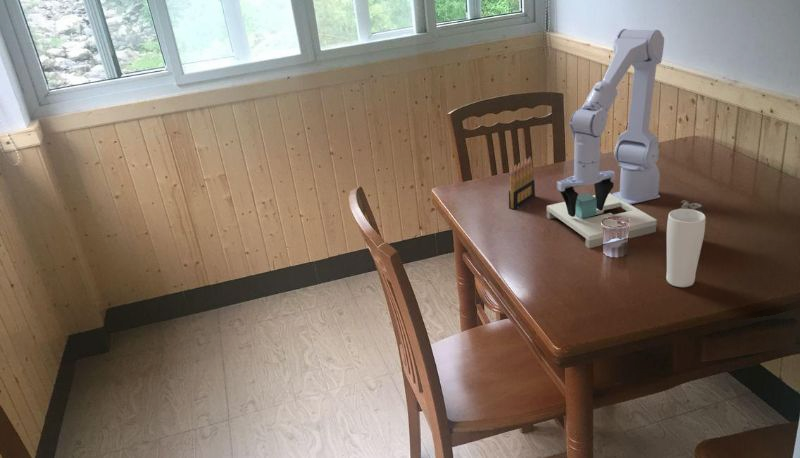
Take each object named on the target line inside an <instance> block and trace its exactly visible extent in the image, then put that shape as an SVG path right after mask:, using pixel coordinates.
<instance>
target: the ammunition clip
mask: <svg viewBox="0 0 800 458" xmlns="http://www.w3.org/2000/svg"><path fill="white" fill-rule="evenodd" d="M532 160H533V159H532V156H528V158H525V160H522V161H521V162H518V164H515V165H514V167H513V166H511V169H510V177H509V190H508V208H509V209H512V210H517V209H518V208H519V207H521V206H523V205H524V204H526V203H528V202H529V201H530V200H531V199H533V198H535V197H536V188H535V186H536V185H535V179H534V168H533V161H532Z"/></svg>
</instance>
